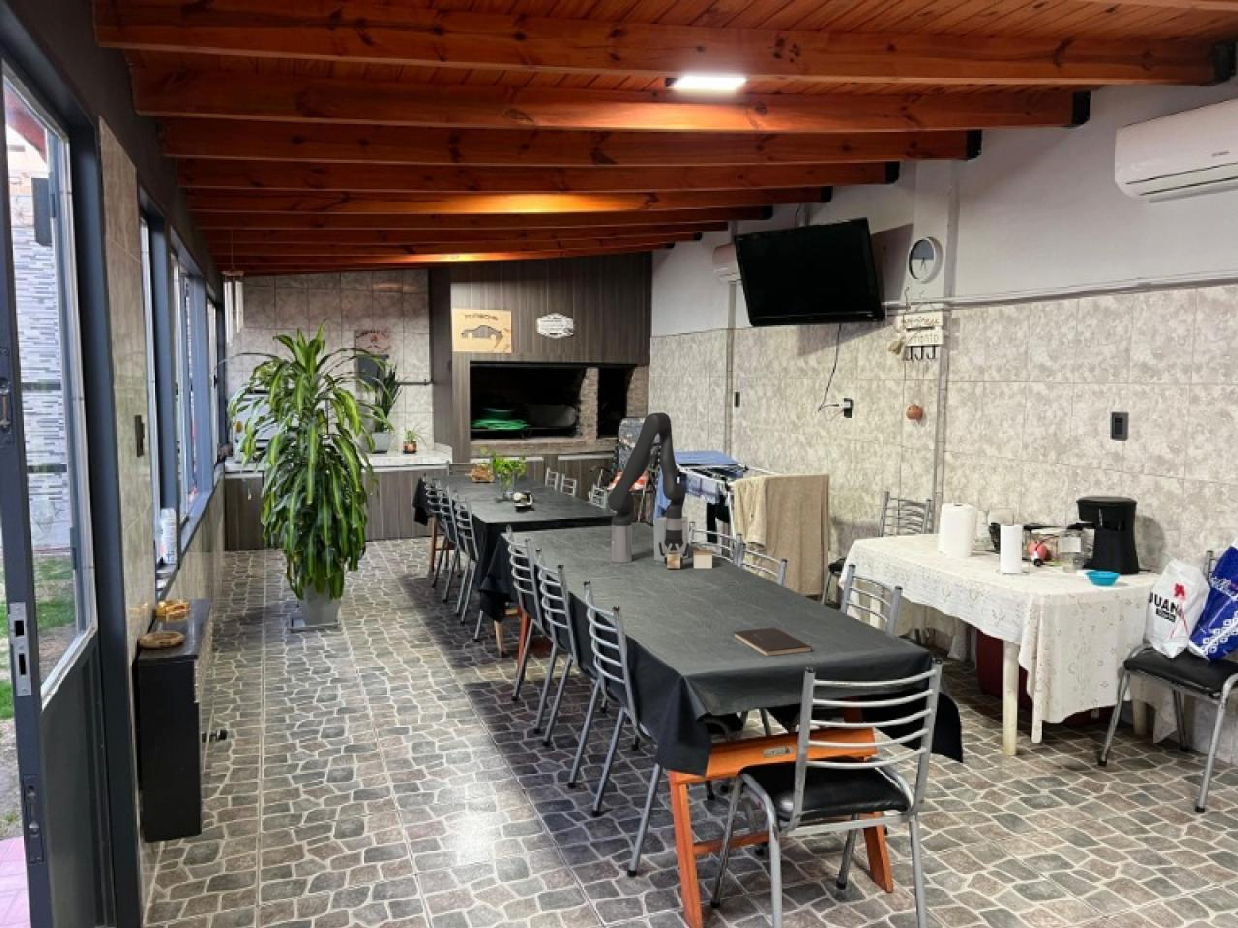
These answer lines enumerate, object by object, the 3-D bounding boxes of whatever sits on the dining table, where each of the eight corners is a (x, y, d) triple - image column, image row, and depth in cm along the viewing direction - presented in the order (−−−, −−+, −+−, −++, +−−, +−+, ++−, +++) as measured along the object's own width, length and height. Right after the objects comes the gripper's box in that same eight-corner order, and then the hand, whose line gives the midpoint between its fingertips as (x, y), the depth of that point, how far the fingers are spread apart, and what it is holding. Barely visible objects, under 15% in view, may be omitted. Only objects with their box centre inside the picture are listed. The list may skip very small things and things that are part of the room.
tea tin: (693, 568, 417) (693, 553, 416) (692, 564, 425) (692, 549, 424) (712, 568, 417) (712, 553, 416) (711, 564, 425) (711, 549, 424)
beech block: (667, 568, 413) (667, 554, 412) (667, 565, 418) (667, 552, 418) (679, 568, 413) (679, 554, 412) (679, 565, 418) (679, 552, 417)
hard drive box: (677, 556, 445) (677, 514, 443) (688, 558, 439) (688, 516, 437) (653, 560, 435) (653, 518, 433) (664, 562, 429) (664, 520, 427)
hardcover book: (766, 657, 286) (766, 650, 286) (733, 638, 308) (733, 631, 308) (811, 652, 292) (811, 645, 291) (776, 633, 313) (776, 627, 313)
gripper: (657, 529, 410) (657, 566, 412) (690, 529, 410) (689, 567, 411) (657, 526, 418) (657, 563, 419) (689, 526, 417) (689, 563, 419)
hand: (673, 565), depth 415 cm, fingers closed on beech block, 5 cm apart
